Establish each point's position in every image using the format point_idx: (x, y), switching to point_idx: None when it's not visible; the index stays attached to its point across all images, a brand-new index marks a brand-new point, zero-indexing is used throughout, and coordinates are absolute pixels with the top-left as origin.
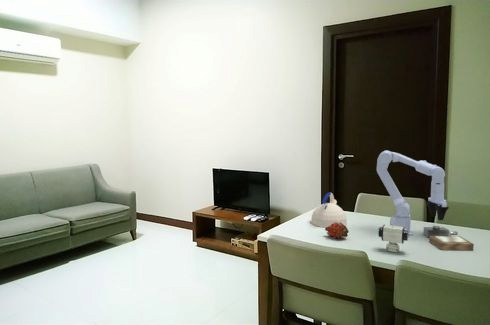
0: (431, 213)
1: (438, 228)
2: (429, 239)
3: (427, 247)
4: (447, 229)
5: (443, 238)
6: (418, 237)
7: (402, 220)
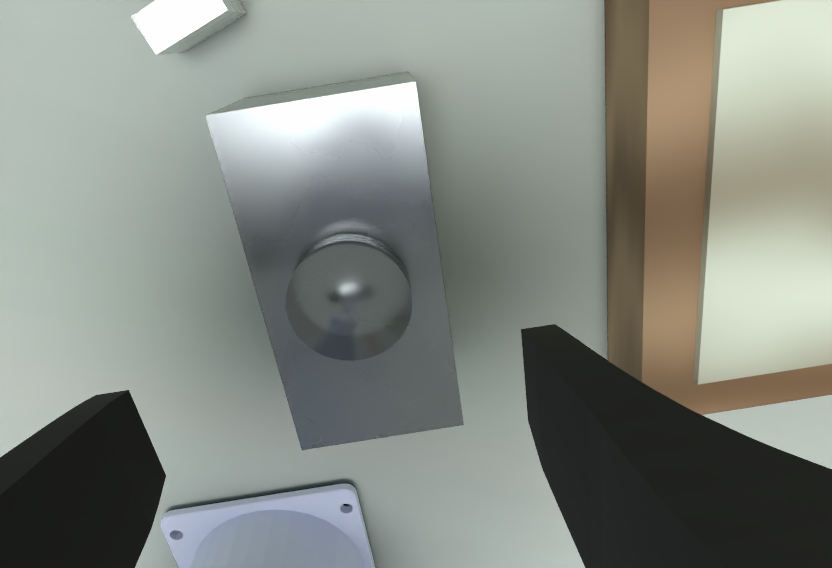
0: (131, 540)
1: (408, 276)
2: None
3: (793, 433)
4: (369, 97)
5: (803, 298)
6: (439, 445)
7: None
